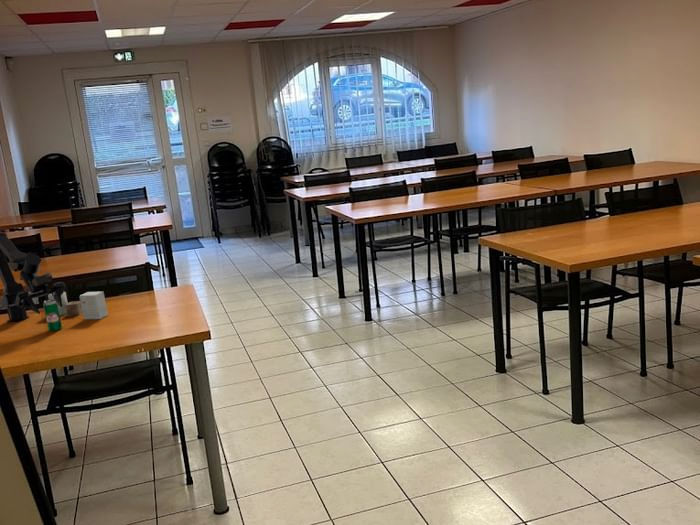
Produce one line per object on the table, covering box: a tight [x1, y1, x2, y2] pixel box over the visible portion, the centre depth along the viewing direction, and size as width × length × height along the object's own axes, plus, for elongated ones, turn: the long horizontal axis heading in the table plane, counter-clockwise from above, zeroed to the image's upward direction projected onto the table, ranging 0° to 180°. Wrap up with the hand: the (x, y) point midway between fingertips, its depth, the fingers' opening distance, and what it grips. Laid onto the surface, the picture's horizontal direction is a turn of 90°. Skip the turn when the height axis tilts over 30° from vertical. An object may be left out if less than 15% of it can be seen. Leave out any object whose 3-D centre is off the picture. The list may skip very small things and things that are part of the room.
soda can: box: [42, 299, 63, 332], centre depth 260 cm, size 5×5×12 cm
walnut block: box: [65, 300, 83, 317], centre depth 282 cm, size 5×5×5 cm
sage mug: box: [47, 291, 69, 317], centre depth 285 cm, size 8×7×9 cm
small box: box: [79, 290, 109, 320], centre depth 273 cm, size 8×6×10 cm
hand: (50, 309), depth 260 cm, fingers open, 9 cm apart
